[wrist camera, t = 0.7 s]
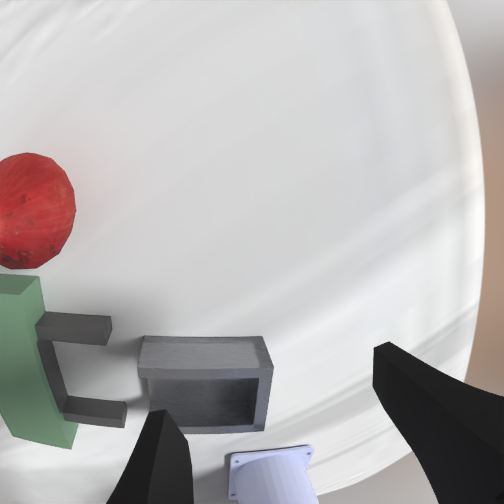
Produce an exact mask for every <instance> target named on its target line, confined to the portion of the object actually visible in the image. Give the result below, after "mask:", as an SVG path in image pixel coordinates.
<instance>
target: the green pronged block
mask: <svg viewBox="0 0 504 504" xmlns="http://www.w3.org/2000/svg"><path fill="white" fill-rule="evenodd" d="M111 331H112V323H111V316H98V315H83V314H69V313H57V312H45V307H44V302H43V296H42V291H41V285H40V278H39V276H26V275H10V274H0V413H1V415H2V417H3V419H4V421H5V423H6V425H7V427H8V429H9V430H10V432H11V434H12V436H14V437H17V438H21V439H25V440H29V441H33V442H37V443H41V444H46V445H50V446H55V447H60V448H65V449H71V448H72V445H73V441H74V438H75V435H76V431H77V428H78V423H82V424H89V425H97V426H106V427H116V428H124V426H125V421H126V415H127V407H126V403H125V402H118V401H107V400H97V399H88V398H80V397H73V396H68V395H67V392H66V389H65V385H64V382H63V379H62V376H61V372H60V369H59V366H58V362H57V358H56V355H55V351H54V347H53V343H52V341H60V342H69V343H80V344H92V345H104V346H106V344H107V342H108V339H109V336H110V334H111Z"/></svg>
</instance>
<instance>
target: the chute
mask: <svg viewBox="0 0 504 504" xmlns="http://www.w3.org/2000/svg"><path fill="white" fill-rule="evenodd" d="M137 368H138V374H139V378H147V382H148V389H149V396H150V406H149V412H152V411H158V410H163V409H166V410H167V411H168V413H169V414H170V416H171V417H172V419H173V420H174V422H175V423H176V425H177V426H178V428H179V429H180V431H181V432H182V434H225V433H244V432H258V431H264V427H265V421H266V415H267V409H268V402H269V396H270V389H271V383H272V376H273V369H274V366H273V363H272V361H271V358H270V355H269V353H268V350H267V347H266V345H265V342H264V340H263V337H262V336H257V337H163V336H144V339H143V344H142V348H141V353H140V358H139V362H138V367H137Z"/></svg>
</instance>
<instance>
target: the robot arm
mask: <svg viewBox="0 0 504 504" xmlns="http://www.w3.org/2000/svg"><path fill="white" fill-rule="evenodd" d="M372 386H373V388H374V390H375V392H376V394H377V396H378V398H379V400H380V402H381V404H382V406H383V408H384V410H385V411H386V413H387V414H388V415H389V417H390V418H391V420H392V421H393V423H394V424H395V426H396V427H397V429H398V430H399V431H400V433H401V434H402V436H403V437H404V439H405V440H406V442H407V443H408V444H409V446H410V447H411V449H412V450H413V452H414V453H415V455H416V457H417V458H418V460H419V462H420V464H421V466H422V468H423V470H424V472H425V474H426V476H427V478H428V480H429V482H430V484H431V486H432V489H433V491H434V493H435V495H436V498H437V500H438V503H439V504H504V397H503V396H499V395H496V394H493V393H489V392H487V391H484V390H481V389H478V388H475V387H473V386H470V385H468V384H465V383H463V382H461V381H459V380H457V379H455V378H452V377H450V376H448V375H446V374H445V373H443V372H441V371H439V370H437V369H435V368H433V367H432V366H430V365H428V364H426V363H424V362H423V361H421V360H419V359H418V358H416V357H414V356H413V355H411V354H409V353H408V352H406V351H404V350H403V349H401V348H399V347H398V346H396V345H394V344H393V343H391V342H386V343H384V344H382V345H379V346H377V347H374V358H373V385H372ZM313 451H314V447H313V446H312V445H308V446H301V447H294V448H287V449H279V450H270V451H260V452H248V453H235V454H232V455H231V457H230V473H229V489H228V499H229V500H238V504H319V502H318V499H317V497H316V494H315V491H314V489H313V486H312V484H311V481H310V478H309V476H308V473H307V471H306V470H307V468H308V465H309V462H310V460H311V457H312V454H313ZM106 504H194V497H193V477H192V464H191V457H190V451H189V446H188V441H187V440H186V438H185V437H184V435H183V434H182V432H181V431H180V429H179V428H178V426H177V425H176V423H175V422H174V420H173V419H172V417H171V416H170V414H169V413H168V411H167V410H166V409H163V410H158V411H152V412H149V414H148V416H147V418H146V421H145V423H144V426H143V428H142V431H141V433H140V436H139V438H138V440H137V443H136V445H135V448H134V450H133V452H132V454H131V457H130V459H129V461H128V463H127V466H126V468H125V470H124V472H123V474H122V476H121V478H120V480H119V482H118V483H117V485H116V487H115V489H114V491H113V493H112V494H111V496H110V498H109V500H108V501H107V503H106Z"/></svg>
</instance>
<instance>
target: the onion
mask: <svg viewBox="0 0 504 504" xmlns="http://www.w3.org/2000/svg"><path fill="white" fill-rule="evenodd" d="M75 213H76V205H75V197H74V189H73V187H72V185H71V183H70V181H69V179H68V177H67V175H66V173H65V171H64V170H63V169H62V168H61V167H60V166H59V165H58V164H57V163H56V162H55V161H54V160H52V159H51V158H48V157H45V156H41V155H38V154H34V153H22V154H18V155H13V156H10V157H8V158H5V159H3V160H2V161H1V162H0V265H2V266H4V267H6V268H9V269H36V268H38V267H39V266H41V265H43V264H44V263H46V262H47V261H49V260H50V259H52V258H53V257H55V256H56V255H58V254H59V253H60V251H61V249H62V248H63V246H64V244H65V242H66V241H67V239H68V237H69V235H70V233H71V231H72V227H73V222H74V217H75Z"/></svg>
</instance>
